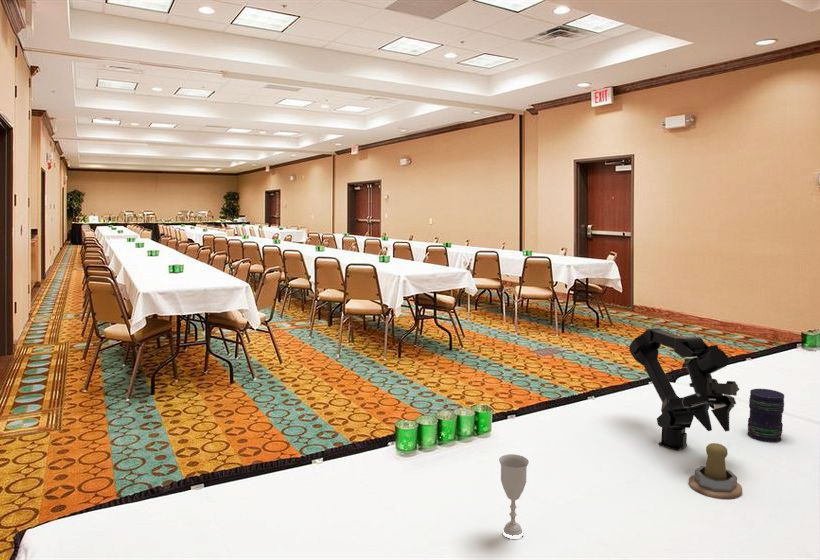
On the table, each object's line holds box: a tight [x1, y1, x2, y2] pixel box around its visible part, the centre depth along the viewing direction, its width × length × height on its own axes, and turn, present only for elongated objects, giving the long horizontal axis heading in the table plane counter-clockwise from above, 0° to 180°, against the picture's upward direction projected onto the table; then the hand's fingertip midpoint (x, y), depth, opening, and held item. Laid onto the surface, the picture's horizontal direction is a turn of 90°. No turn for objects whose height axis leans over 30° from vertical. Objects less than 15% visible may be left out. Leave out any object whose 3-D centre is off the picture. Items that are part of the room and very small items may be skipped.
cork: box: [704, 442, 729, 480], centre depth 162 cm, size 6×6×11 cm
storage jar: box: [747, 388, 785, 444], centre depth 197 cm, size 10×10×15 cm
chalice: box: [498, 453, 530, 536], centre depth 140 cm, size 7×7×18 cm
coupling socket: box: [688, 465, 743, 500], centre depth 163 cm, size 13×13×4 cm
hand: (718, 430), depth 171 cm, fingers open, 9 cm apart
